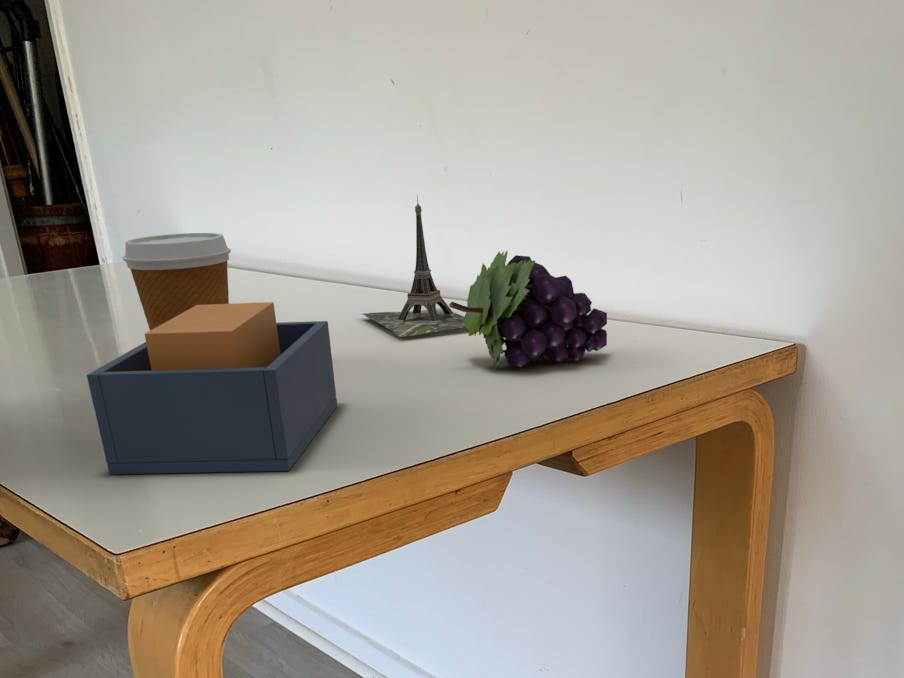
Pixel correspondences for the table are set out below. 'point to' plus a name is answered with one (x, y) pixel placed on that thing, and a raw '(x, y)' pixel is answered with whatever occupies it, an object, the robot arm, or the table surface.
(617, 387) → the table surface
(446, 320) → the eiffel tower figurine
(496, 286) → the fruit
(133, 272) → the disposable coffee cup
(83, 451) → the table surface
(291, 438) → the compartment
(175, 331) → the tan cardboard-coloured block
